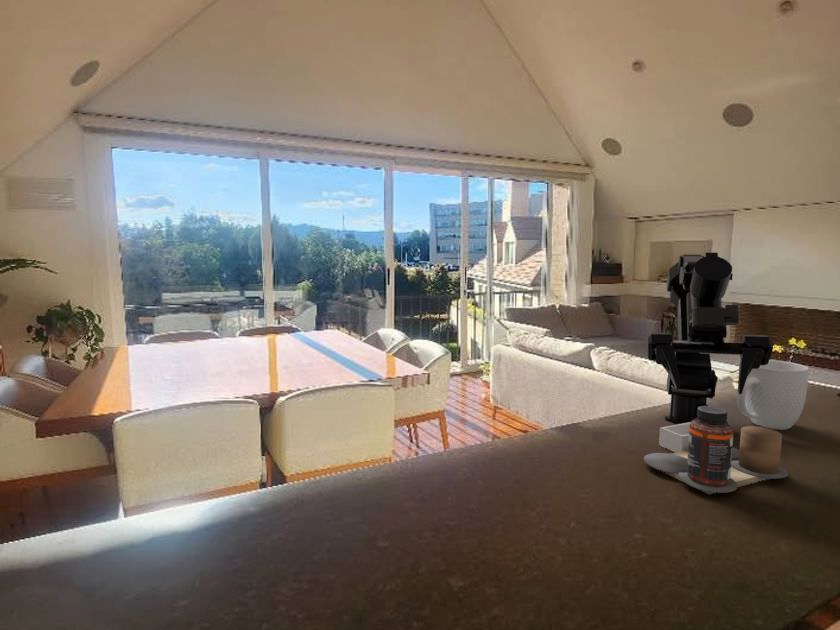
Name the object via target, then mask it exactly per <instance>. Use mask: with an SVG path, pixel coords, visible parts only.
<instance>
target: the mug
mask: <svg viewBox="0 0 840 630" xmlns="http://www.w3.org/2000/svg"><path fill="white" fill-rule="evenodd" d="M809 371H810V370H809V367H808V366H805V365H803V364H799V363H795V362H790V361H783V360H775V359H769V362H768V364H766V365H760V367H759V368H758V369H752V370H751V372H750V374H749V376H748V377H747V380H746V383H745V386H744V389H743V392H742V394H739V391H738V390H737V393H736V405H737V408H738V410H739V411H740V413H741V414H742V415H743V416H745V417H747V418H749V419H750V420H751V422H752V423H753V424H755V425H757V426H758V427H763V428H768V429H772V430H779V431H780V430H781V431H782V430H784V431H785V430H789V429H790V428H792V427H793V426H794V424H796V422H797V421H798V420H799V419H800V416H801V414H802V412H803V410H804V406H805V403H806V399H807V395H808V394H807V392H808V384H809Z"/></svg>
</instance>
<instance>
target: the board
mask: <svg viewBox="0 0 840 630" xmlns="http://www.w3.org/2000/svg"><path fill="white" fill-rule="evenodd" d="M739 440H740V441H739V448H738V449H737V448H735V447H732V460H731V475H730V482H729V483H728V484H726V485H723V486H709V485H705V484H702V483H699V482H696V481H694V480H692V479H691V478H690V477H689V476H688V474H687V459H688V450H685V451H681V452H673V453H671V452H670V453H666V452H665V453H664V452H653V453H649V454H648V453H647V454H646V455H644V457H643V461H644V463H645V465H647V466H649V467H651V468H653V469H655V470H657V471H660V470H661V471H660V472H662V471H663V472H662V473H664V472H665V473H664V474H666V475H668V476H670V477H672V478H674V479H677V480H679V481H681V482H682V483H685V485H688V486H690V487H692V488H695V489H697V490H699V491H701V492H703V493H705V494H707V495H714V494H717V493H718V494H719V493H720V494H721V493H722V494H723V493H724V494H725V493H731V492H735V491H737V489H738V488H741V487H743V486H744V487H745V486H747V485H752V484H756V483H759V482H758V481H760V482H763V481H767V480H772V479H774V480H777V479H778V480H781V479H785V478H786V477H788V475H789V472H788V470H787V468H785V467H783V466H781V465H780V463H781V455H782V454H781V453H782V442H783V434H782V433H781V432H779V431H777V430H776V429H770V428H765V427H762V426H754V425H750V426H748V425H747V426H743V427H741V428H740V438H739ZM766 479H767V480H766ZM762 480H763V481H762ZM751 483H752V484H751ZM716 492H717V493H716ZM713 493H714V494H713Z"/></svg>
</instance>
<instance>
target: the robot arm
mask: <svg viewBox="0 0 840 630" xmlns="http://www.w3.org/2000/svg"><path fill="white" fill-rule="evenodd" d="M732 272H733V265H732V264H731V263H730V262H729V261H728V260H727V259H725V258H723V257H720V256H719V253H718V252H705V253H704V255H702V254H682V255H679V257H678V262H677V263H675V264H674V265H672V266H671V267H670V268H669V269H668V273H667V279H666V292H667V293H668V292H669V301H670V302H671V303H672V304H673V305H674V306H675V307H676V308H677V327H678V328H677V329H678V333H677V334H678V340H673V333H672V332H651V333H650V334H649V335H648V336H647V337H648V338H647V339H648V340H647V345H648V346H647V351H648V352H647V353H648V354H647V357H648V360H650V361H653V362H654V361H655V363H656V364H657V365H661V366H662V367H663V368H664V370H665V371H666V373H667V378H666V391H667V395H669V396H670V406H669V408H670V409H669V415H666V416H664V420H667V421H670V422H673V423H675V424H676V425H677V424H683V423H688V422H691V421H692V420H694V419H696V418H697V417H698V416H697V411H698V407H700V406H709V404H707V401H708V400H707V399H709V400H710V399H711V400H713V398H714V397H716V388H717V384H718V380H719V378H718V376H717V375H716V371H715V369H713V368H712V367H713V366H712V361H711V355H732V356H733V355H736V356H739V359H740V361H739V365H738V379H737V380H738V381H737V382H738V383H737V392H738V391H739V394H742V392H743V389H744V386H745V383H746V380H747V377H748V376H749V374H750V372H751V370H752V369H758V368H759V367H760V365H766V364H768V362H769V360H771V356H772V353H773V350H774V344H773V340H772V338H770V337H769V335H767V334H742V335H743V337H742V340H741V342H725V339H726V338H727V334H728V331H727V330H728V329H727V326H737V325H738V323H739V322H740V312H739V305H738V304H725V305H724V307H723V303H722V300H723V299H722V298H724V296H725V295H726V292H727V289H728V285H729V284H730V283H729V282H730V281H733V276H734V275H733V274H734V273H732Z"/></svg>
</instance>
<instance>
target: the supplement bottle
mask: <svg viewBox="0 0 840 630" xmlns="http://www.w3.org/2000/svg"><path fill="white" fill-rule="evenodd" d="M697 416H698V417H697V418H696V419H694V420H692V421H691V422H690V427H689V442H688V443H689V444H688V459H687V474H688V476H689V477H690V478H691V479H692V480H694V481H696V482H699V483H702V484H705V485H709V486H723V485H726V484H728V483H729V482H730V475H731V460H732V448H734V446H733V445H734V444H733V442H734V429H733V428H734V427H732V425H731V424H729V423H728V411H727V410H726V409H725V408H722V407H718V406H712V405H708V406H700V407H698V411H697Z"/></svg>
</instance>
